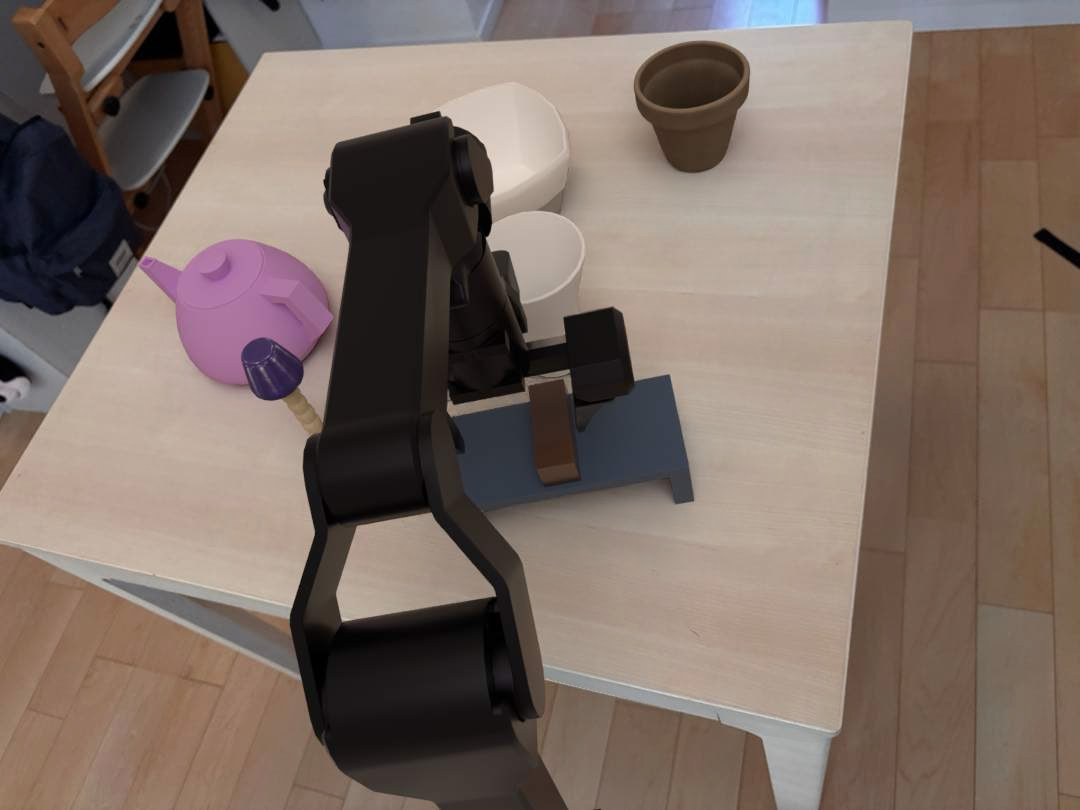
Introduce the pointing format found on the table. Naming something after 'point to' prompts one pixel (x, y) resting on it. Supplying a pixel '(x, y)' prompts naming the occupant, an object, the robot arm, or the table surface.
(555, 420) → the block
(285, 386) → the toy lamp
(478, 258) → the robot arm
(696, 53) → the flower pot
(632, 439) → the shelf
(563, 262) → the cup
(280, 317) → the teapot
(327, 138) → the table surface
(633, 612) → the table surface
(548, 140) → the bowl
